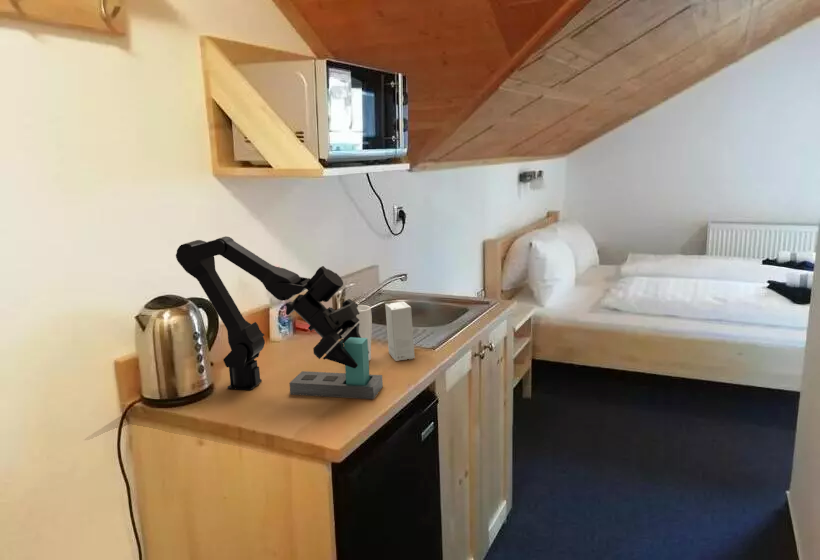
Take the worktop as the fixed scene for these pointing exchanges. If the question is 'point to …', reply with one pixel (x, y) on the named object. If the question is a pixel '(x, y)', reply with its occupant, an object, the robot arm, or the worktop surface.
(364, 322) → the drinking glass
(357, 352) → the teal peg
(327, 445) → the worktop surface
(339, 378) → the grey peg board
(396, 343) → the skincare box
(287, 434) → the worktop surface
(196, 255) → the robot arm
